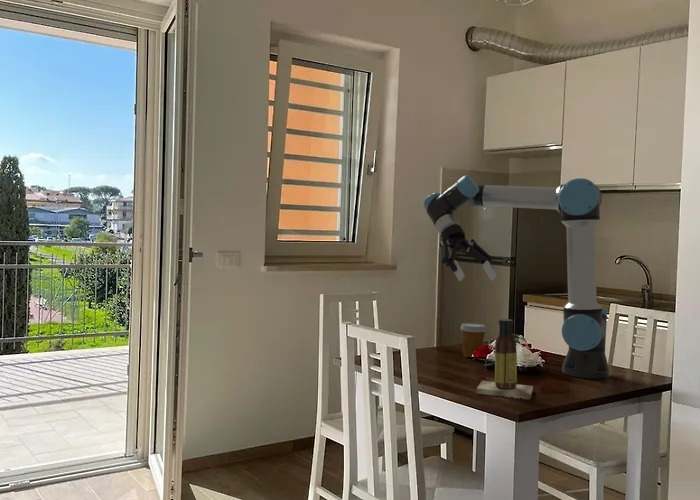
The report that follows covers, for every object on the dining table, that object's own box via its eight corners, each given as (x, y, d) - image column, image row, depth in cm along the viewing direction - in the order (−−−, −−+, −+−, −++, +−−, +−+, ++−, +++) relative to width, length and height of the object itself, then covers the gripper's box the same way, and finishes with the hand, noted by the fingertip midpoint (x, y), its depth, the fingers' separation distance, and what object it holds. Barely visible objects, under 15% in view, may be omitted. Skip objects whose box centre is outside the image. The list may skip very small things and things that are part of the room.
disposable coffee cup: (487, 359, 244) (488, 327, 244) (461, 358, 244) (462, 326, 244) (482, 354, 254) (483, 323, 253) (457, 353, 254) (458, 322, 253)
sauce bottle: (517, 386, 196) (520, 319, 196) (515, 390, 191) (518, 321, 190) (494, 383, 199) (497, 317, 198) (492, 388, 193) (495, 319, 192)
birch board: (532, 391, 197) (533, 386, 197) (530, 399, 187) (530, 394, 187) (481, 385, 202) (482, 380, 202) (476, 393, 192) (476, 388, 192)
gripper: (472, 239, 236) (500, 285, 223) (415, 237, 223) (442, 286, 210) (483, 224, 231) (512, 270, 219) (426, 221, 218) (453, 270, 206)
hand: (478, 278), depth 214 cm, fingers open, 13 cm apart
